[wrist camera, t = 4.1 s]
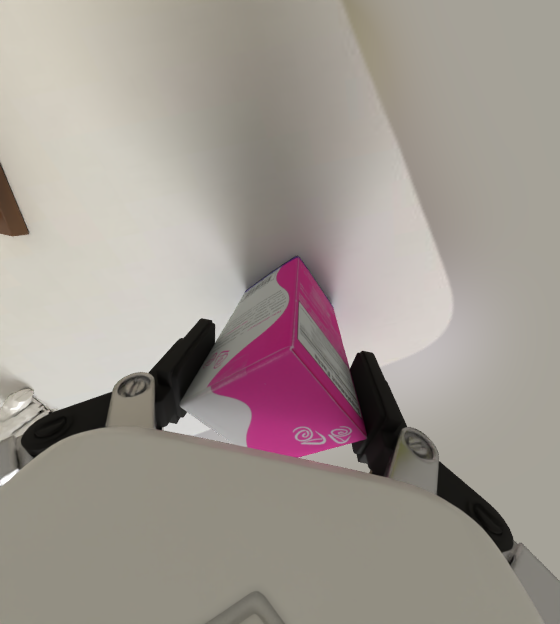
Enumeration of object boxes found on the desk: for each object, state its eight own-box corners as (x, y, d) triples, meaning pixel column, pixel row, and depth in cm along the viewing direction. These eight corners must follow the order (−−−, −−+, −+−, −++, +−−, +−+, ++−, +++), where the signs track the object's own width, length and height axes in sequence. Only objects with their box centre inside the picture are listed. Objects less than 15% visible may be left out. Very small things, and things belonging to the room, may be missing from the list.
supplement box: (283, 336, 20) (259, 472, 10) (244, 290, 18) (167, 401, 8) (336, 309, 18) (372, 446, 8) (299, 252, 16) (285, 341, 6)
